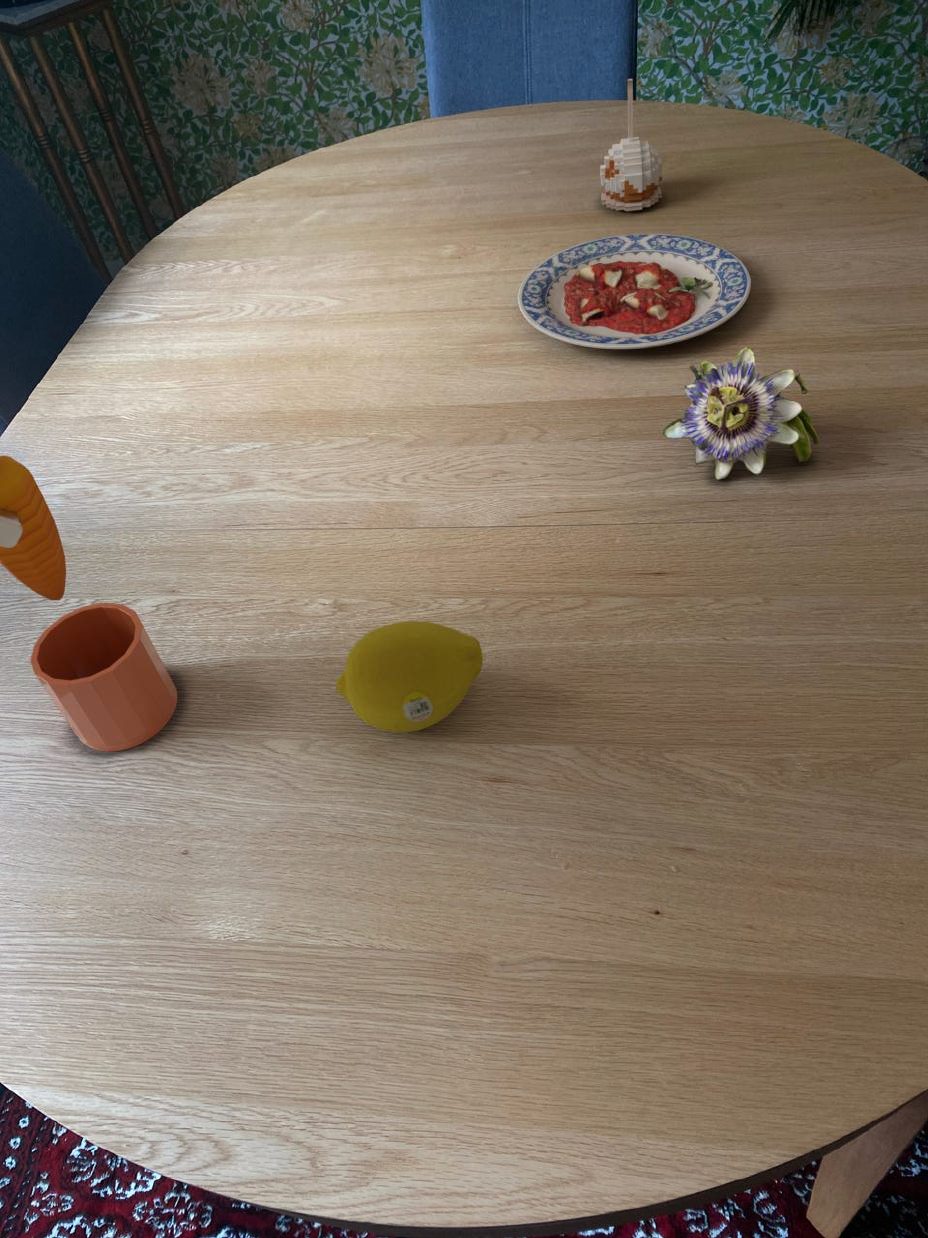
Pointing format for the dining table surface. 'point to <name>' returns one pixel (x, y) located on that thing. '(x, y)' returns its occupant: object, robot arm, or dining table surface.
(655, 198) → the decorative ornament
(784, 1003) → the dining table surface
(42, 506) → the carrot
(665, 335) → the ceramic plate
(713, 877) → the dining table surface
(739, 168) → the dining table surface
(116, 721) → the pot
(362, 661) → the lemon
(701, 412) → the passion flower
